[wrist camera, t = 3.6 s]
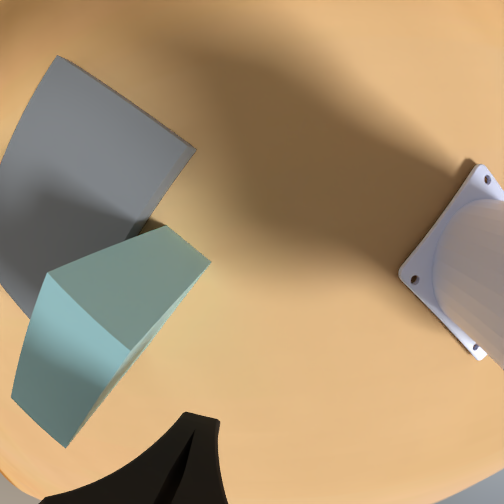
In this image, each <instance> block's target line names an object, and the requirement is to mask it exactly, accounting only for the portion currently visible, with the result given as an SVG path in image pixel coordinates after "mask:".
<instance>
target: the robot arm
mask: <svg viewBox="0 0 504 504" xmlns="http://www.w3.org/2000/svg"><path fill="white" fill-rule="evenodd" d="M485 176H486V178H487V183H485V181H484V178H485ZM398 275H399V278H400V280H401V281H402V282H403V283H404V284H405V285H406V286H407V287H408V288H409V289H410V290H411V291H412V292H413V293H414V294H415V295H416V296H417V297H418V298H419V299H420V300H421V301H422V302H423V303H424V304H425V305H426V306H427V307H428V308H429V309H430V310H431V311H432V312H433V313H434V314H435V315H436V316H437V317H438V318H439V319H440V320H441V321H442V322H443V323H444V324H445V325H446V327H447V328H448V329H449V330H450V331H451V332H452V333H453V334H454V335H455V336H456V337H457V338H458V339H459V341H460V342H461V343H462V344H463V345H464V346H465V347H466V348H467V349H468V351H469V352H470V353H471V354H472V355H473V356H474V357H475V358H476V360H482V359H483V358H484V357H485V356H486V355H487V354H488V355H489V356H490V357H491V358H492V359H493V360H494V361H495V362H496V363H497V364H498V365H499V366H500V367H501V368H502V369H503V370H504V191H503V190H502V188H501V187H500V185H499V184H498V182H497V181H496V180H495V178H494V177H493V175H492V174H491V173H490V171H489V170H488V169H487V167H486V166H485V165H483V164H477V165H475V166H474V168H473V169H472V171H471V172H470V174H469V175H468V177H467V178H466V180H465V181H464V183H463V184H462V186H461V187H460V189H459V190H458V192H457V193H456V195H455V196H454V198H453V199H452V200H451V202H450V203H449V205H448V206H447V208H446V209H445V210H444V212H443V213H442V214H441V216H440V217H439V219H438V220H437V221H436V223H435V224H434V225H433V227H432V228H431V229H430V231H429V232H428V233H427V234H426V236H425V237H424V238H423V240H422V241H421V242H420V243H419V245H418V246H417V247H416V248H415V250H414V251H413V252H412V253H411V255H410V256H409V257H408V258H407V260H406V261H405V262H404V263H403V264H402V266H401V267H400V269H399V272H398ZM414 275H416V276H417V279H416V281H415V282H413V283H411V278H412V277H413V276H414ZM475 344H476V345H475ZM474 345H475V346H474ZM473 346H474V347H473ZM219 427H220V421H219V420H218V419H214V418H210V417H206V416H201V415H197V414H193V413H189V412H184V413H183V414H182V415H181V416H180V418H179V419H178V420H177V421H176V422H175V423H174V425H173V426H172V427H171V428H170V429H169V430H168V431H167V432H166V433H165V434H164V435H163V436H162V437H161V438H160V439H159V440H157V441H156V442H155V443H154V444H153V445H152V446H151V447H150V448H148V449H147V450H146V451H145V452H143V453H142V454H141V455H139V456H138V457H137V458H136V459H134V460H133V461H131V462H130V463H128V464H127V465H125V466H124V467H122V468H120V469H119V470H117V471H115V472H114V473H112V474H110V475H108V476H106V477H104V478H102V479H100V480H98V481H96V482H93V483H91V484H88V485H86V486H83V487H80V488H78V489H75V490H72V491H69V492H65V493H61V494H57V495H53V496H48V497H45V498H44V499H43V500H42V501H41V502H40V503H39V504H228V502H227V498H226V495H225V491H224V487H223V483H222V477H221V472H220V466H219V456H218V433H219Z"/></svg>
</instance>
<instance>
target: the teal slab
mask: <svg viewBox="0 0 504 504" xmlns="http://www.w3.org/2000/svg"><path fill="white" fill-rule="evenodd" d="M210 263H211V261H210V260H208V259H207V258H206V257H205V256H203V255H202V254H201V253H200V252H198V251H197V250H196V249H195V248H194V247H192V246H191V245H190V244H189V243H187V242H186V241H185V240H184V239H183V238H181V237H180V236H179V235H178V234H176V233H175V232H174V231H173V230H172V229H170V228H169V227H168V226H167V225H166V226H163V227H160V228H157V229H155V230H152V231H149V232H147V233H144V234H141V235H139V236H136V237H133V238H131V239H128V240H125V241H123V242H120V243H118V244H115V245H113V246H110V247H108V248H105V249H102V250H100V251H97V252H95V253H93V254H90V255H88V256H85V257H83V258H80V259H78V260H75V261H73V262H71V263H68V264H66V265H63V266H61V267H59V268H56V269H54V270H52V271H49V272H47V274H46V277H45V279H44V282H43V285H42V287H41V290H40V293H39V295H38V298H37V301H36V304H35V307H34V310H33V313H32V316H31V319H30V322H29V326H28V329H27V332H26V336H25V339H24V343H23V347H22V350H21V354H20V358H19V362H18V366H17V371H16V375H15V380H14V384H13V389H12V394H11V398H12V399H13V400H14V401H15V402H16V403H17V404H18V405H19V406H20V407H21V408H22V409H23V410H24V411H25V412H26V413H27V414H28V415H29V416H30V417H31V418H32V419H33V420H34V421H35V422H36V423H37V424H38V425H39V426H40V427H41V428H42V429H44V430H45V431H46V432H47V433H48V434H49V435H50V436H51V437H53V438H54V439H55V440H56V441H57V442H58V443H60V444H61V445H62V446H63V447H65V448H66V447H67V446H68V445H69V444H70V442H71V441H72V440H73V439H74V437H75V436H76V435H77V433H78V432H79V431H80V430H81V428H82V427H83V426H84V425H85V423H86V422H87V421H88V419H89V418H90V417H91V416H92V414H93V413H94V412H95V411H96V409H97V408H98V407H99V406H100V404H101V403H102V402H103V401H104V399H105V398H106V397H107V396H108V394H109V393H110V392H111V391H112V389H113V388H114V387H115V386H116V384H117V383H118V382H119V381H120V379H121V378H122V377H123V376H124V375H125V373H126V372H127V371H128V370H129V368H130V367H131V366H132V365H133V363H134V362H135V361H136V360H137V359H138V357H139V356H140V355H141V354H142V352H143V351H144V350H145V349H146V347H147V346H148V345H149V343H150V342H151V341H152V339H153V338H154V337H155V335H156V334H157V333H158V331H159V330H160V329H161V327H162V326H163V325H164V323H165V322H166V321H167V319H168V318H169V317H170V316H171V314H172V313H173V312H174V310H175V309H176V308H177V306H178V305H179V304H180V302H181V301H182V300H183V298H184V297H185V296H186V295H187V293H188V292H189V291H190V289H191V288H192V287H193V285H194V284H195V283H196V282H197V280H198V279H199V278H200V276H201V275H202V274H203V272H204V271H205V270H206V269H207V267H208V266H209V265H210Z"/></svg>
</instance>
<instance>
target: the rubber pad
mask: <svg viewBox="0 0 504 504" xmlns="http://www.w3.org/2000/svg"><path fill="white" fill-rule="evenodd" d="M196 150H197V149H195V148H194V147H193V146H191V145H190V144H189V143H187V142H186V141H185V140H183V139H182V138H181V137H179V136H178V135H177V134H175V133H174V132H173V131H171V130H170V129H168V128H167V127H166V126H164V125H163V124H162V123H160V122H159V121H157V120H156V119H155V118H153V117H152V116H150V115H149V114H148V113H146V112H145V111H143V110H142V109H141V108H139V107H138V106H136V105H135V104H133V103H132V102H131V101H129V100H128V99H126V98H125V97H123V96H122V95H120V94H119V93H118V92H116V91H115V90H113V89H112V88H110V87H109V86H107V85H106V84H104V83H103V82H101V81H100V80H98V79H97V78H95V77H94V76H92V75H91V74H89V73H88V72H86V71H85V70H83V69H82V68H80V67H79V66H77V65H76V64H74V63H73V62H71V61H69V60H67V59H65V58H62V57H60V56H58V55H57V56H56V58H55V59H54V61H53V62H52V64H51V65H50V67H49V69H48V70H47V72H46V73H45V75H44V77H43V78H42V80H41V82H40V83H39V85H38V87H37V89H36V90H35V92H34V94H33V96H32V97H31V99H30V101H29V103H28V105H27V107H26V109H25V111H24V113H23V115H22V117H21V119H20V121H19V123H18V125H17V127H16V129H15V131H14V133H13V135H12V138H11V140H10V142H9V144H8V147H7V149H6V152H5V154H4V156H3V159H2V161H1V164H0V284H1V285H2V286H3V288H4V289H5V290H6V292H7V293H8V294H9V295H10V296H11V298H12V299H13V300H14V301H15V303H16V304H17V305H18V306H19V307H20V308H21V310H22V311H23V312H24V313H25V314H26V315H27V316H28V318H29V319H31V316H32V313H33V310H34V307H35V304H36V301H37V298H38V295H39V293H40V290H41V287H42V285H43V282H44V279H45V277H46V274H47V272H49V271H52V270H54V269H56V268H59V267H61V266H63V265H66V264H68V263H71V262H73V261H75V260H78V259H80V258H83V257H85V256H88V255H90V254H93V253H95V252H97V251H100V250H102V249H105V248H108V247H110V246H113V245H115V244H118V243H120V242H123V241H125V240H128V239H131V238H133V237H136V236H137V235H138V234H139V232H140V231H141V229H142V228H143V226H144V224H145V223H146V221H147V220H148V218H149V217H150V215H151V214H152V212H153V211H154V209H155V208H156V206H157V205H158V203H159V202H160V200H161V199H162V197H163V196H164V195H165V193H166V192H167V190H168V189H169V187H170V186H171V185H172V183H173V182H174V180H175V179H176V177H177V176H178V175H179V173H180V172H181V171H182V169H183V168H184V166H185V165H186V164H187V162H188V161H189V160H190V158H191V157H192V156H193V154H194V153H195V152H196Z"/></svg>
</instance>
